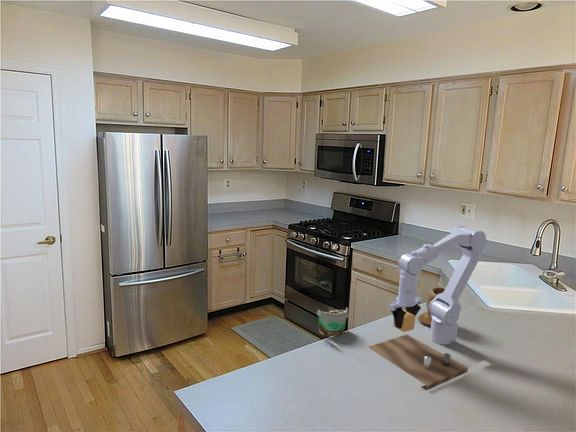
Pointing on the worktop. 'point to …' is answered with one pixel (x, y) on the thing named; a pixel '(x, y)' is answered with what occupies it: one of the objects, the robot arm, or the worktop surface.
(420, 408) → the worktop surface
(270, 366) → the worktop surface
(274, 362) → the worktop surface
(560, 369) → the worktop surface
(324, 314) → the food container
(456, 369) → the walnut board
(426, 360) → the steel post
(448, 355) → the dark post
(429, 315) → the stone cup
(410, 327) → the peach wooden cube
